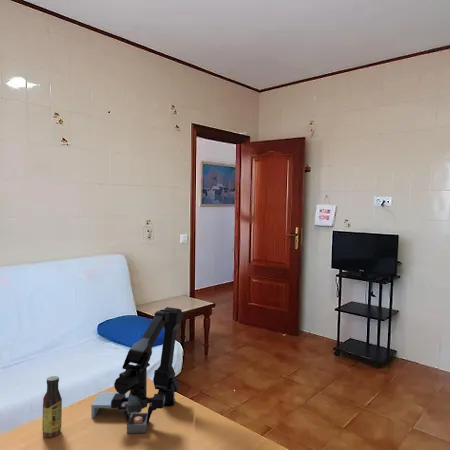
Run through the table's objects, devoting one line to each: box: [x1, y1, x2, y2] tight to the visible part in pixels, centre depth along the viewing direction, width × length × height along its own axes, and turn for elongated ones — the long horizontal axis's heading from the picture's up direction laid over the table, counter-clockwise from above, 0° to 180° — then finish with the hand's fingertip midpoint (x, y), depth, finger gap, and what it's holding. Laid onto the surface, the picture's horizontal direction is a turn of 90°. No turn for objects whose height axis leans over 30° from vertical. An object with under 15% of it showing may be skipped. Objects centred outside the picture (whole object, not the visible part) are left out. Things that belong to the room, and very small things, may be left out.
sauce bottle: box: [41, 375, 63, 438], centre depth 137 cm, size 7×6×20 cm
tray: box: [126, 412, 149, 434], centre depth 141 cm, size 6×8×3 cm
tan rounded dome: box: [134, 416, 143, 424], centre depth 141 cm, size 3×3×2 cm
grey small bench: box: [90, 391, 132, 419], centre depth 152 cm, size 14×10×6 cm
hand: (138, 423), depth 141 cm, fingers closed on tray, 6 cm apart
